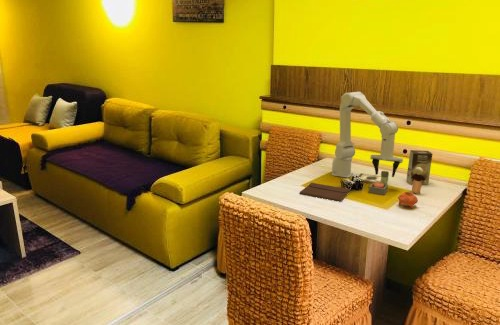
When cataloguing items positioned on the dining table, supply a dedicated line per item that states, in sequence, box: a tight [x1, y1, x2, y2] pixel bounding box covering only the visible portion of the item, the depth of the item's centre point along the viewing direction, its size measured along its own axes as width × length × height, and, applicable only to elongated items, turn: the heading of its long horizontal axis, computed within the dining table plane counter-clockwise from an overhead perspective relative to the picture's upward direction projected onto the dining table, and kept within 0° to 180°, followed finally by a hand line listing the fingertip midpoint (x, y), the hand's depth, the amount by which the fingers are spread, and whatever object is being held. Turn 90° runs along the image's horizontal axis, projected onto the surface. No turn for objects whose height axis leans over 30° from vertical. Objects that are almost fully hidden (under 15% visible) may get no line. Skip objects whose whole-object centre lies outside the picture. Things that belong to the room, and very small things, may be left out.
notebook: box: [299, 182, 352, 203], centre depth 191 cm, size 15×20×2 cm
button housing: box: [368, 183, 389, 196], centre depth 192 cm, size 7×7×3 cm
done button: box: [374, 182, 384, 188], centre depth 191 cm, size 4×4×2 cm
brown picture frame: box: [357, 172, 381, 185], centre depth 209 cm, size 14×12×1 cm
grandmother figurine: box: [409, 167, 427, 195], centre depth 189 cm, size 8×4×13 cm, turn 62°
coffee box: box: [405, 149, 433, 186], centre depth 202 cm, size 9×6×16 cm
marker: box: [380, 170, 390, 185], centre depth 196 cm, size 3×3×8 cm
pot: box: [397, 191, 419, 209], centre depth 174 cm, size 8×8×7 cm
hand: (384, 175), depth 196 cm, fingers open, 7 cm apart
